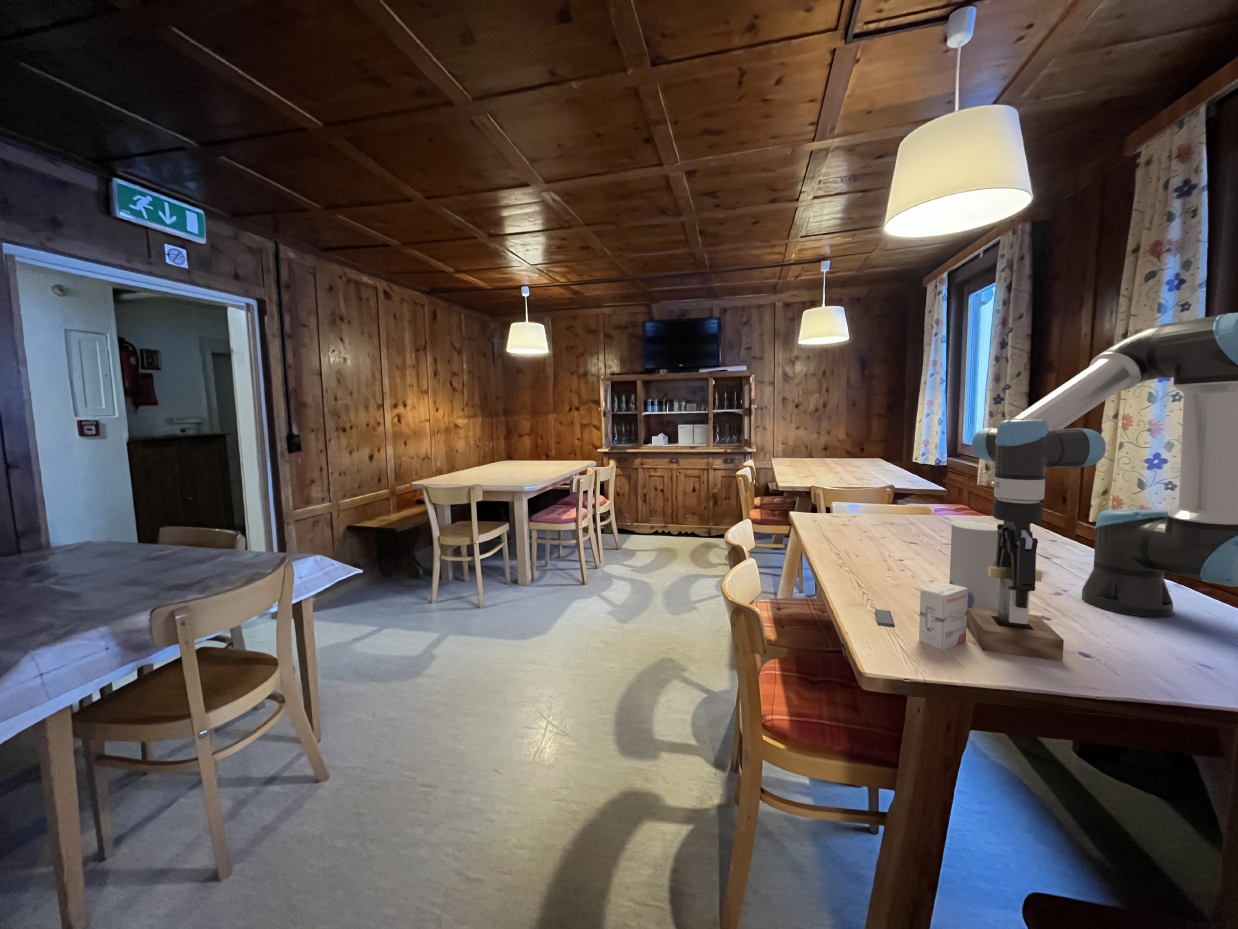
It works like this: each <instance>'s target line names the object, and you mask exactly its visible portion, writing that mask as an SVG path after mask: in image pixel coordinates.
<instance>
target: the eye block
mask: <svg viewBox="0 0 1238 929" xmlns="http://www.w3.org/2000/svg"><path fill="white" fill-rule="evenodd" d="M997 622H998V610H996V611H992V610H982V609H973V608H967V628H966V629H967V630H968V631H969V633H971V635H972V637H973V639H974V640H975V641H976V643H977V644H978V645H979V646H978V647H980V648H981V650H982V651H983V652H991V653H997V654H1004V655H1013V656H1019V657H1026V658H1027V657H1028V658H1033V659H1043V660H1048V661H1049V660H1051V661H1055V662H1063V659H1064V642H1065V640H1064V638H1062V637H1061V635H1059V634H1058V633H1057V632H1056V631H1055V630H1054V629H1053V628H1052V627H1051V626H1049V624H1048V623H1046V622H1045V621H1044V620H1043V619H1042V618H1041V617H1040V616H1039V615H1036V614H1030V613H1028V624H1026V629H1019V628H1010V627H1002V626H998V624H997Z"/></svg>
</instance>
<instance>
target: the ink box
mask: <svg viewBox="0 0 1238 929" xmlns="http://www.w3.org/2000/svg"><path fill="white" fill-rule="evenodd" d="M967 606H968V589H967V588H965V587H961V586H957V585H952V584H950V583H947V582H942V583H939V584H936V585H932V586H929V587H926V588H923V589H922V588H921V589H920V594H919V625H918V626H919V631H918V632H919V633H918V641H919V642H921V643H924V644H925V645H929V646H931V647H933V648H936V649H938V650H942V651H944V650H946V649H949V648H952V647H953V646H956V645H959V644H960V643H963V642H965V641H967V629H968V628H967Z"/></svg>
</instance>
